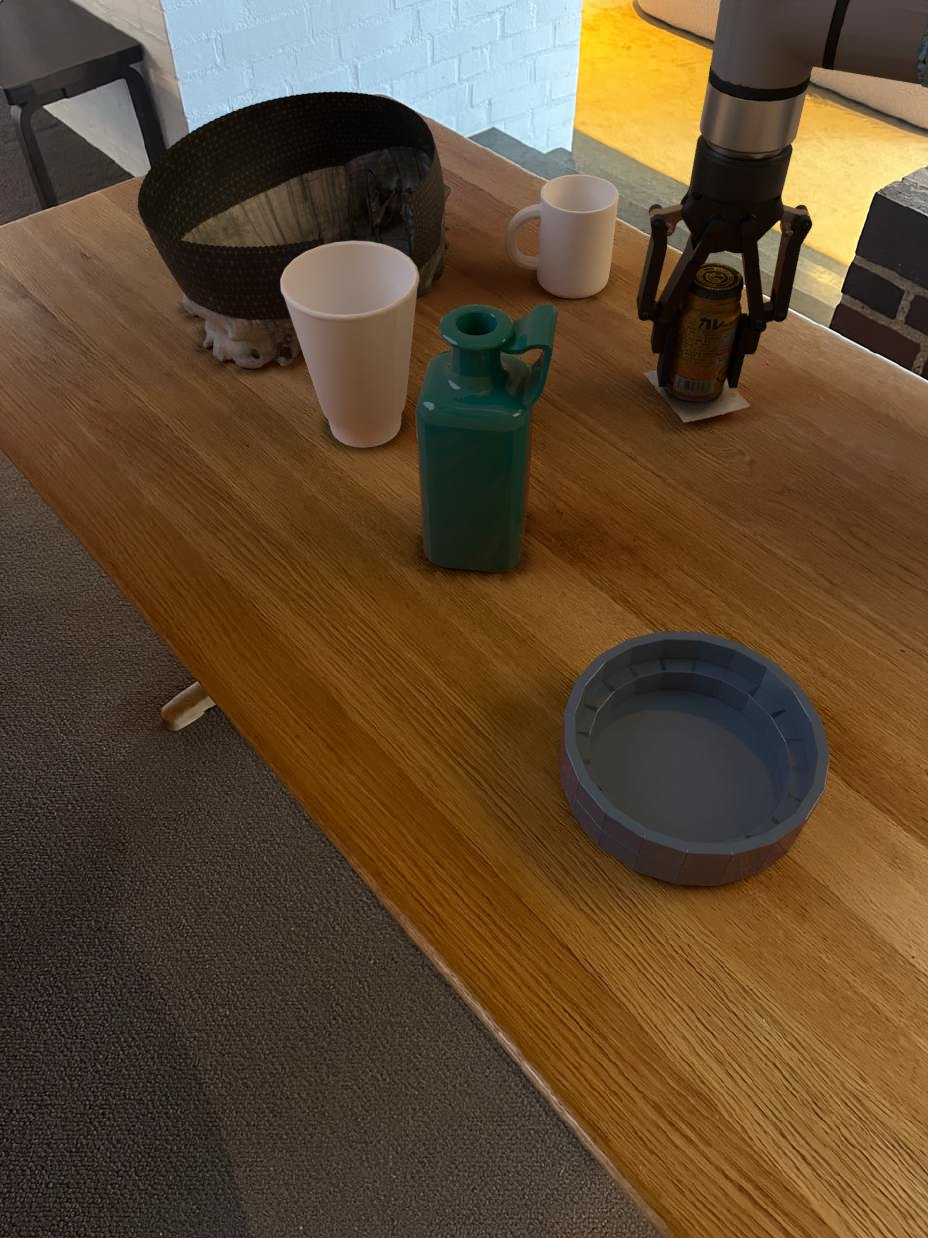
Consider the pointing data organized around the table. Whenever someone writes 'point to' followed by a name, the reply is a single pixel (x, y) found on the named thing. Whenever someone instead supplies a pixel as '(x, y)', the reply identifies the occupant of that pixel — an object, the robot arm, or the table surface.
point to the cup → (355, 333)
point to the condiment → (705, 346)
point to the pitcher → (480, 435)
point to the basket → (289, 207)
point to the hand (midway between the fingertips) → (696, 378)
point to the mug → (570, 235)
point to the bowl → (691, 757)
